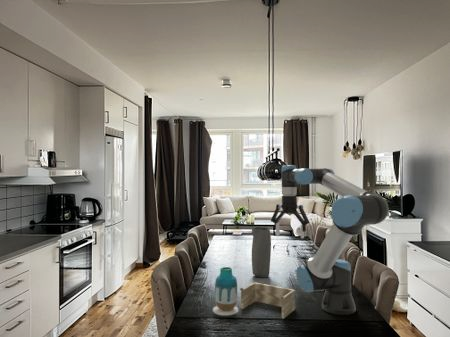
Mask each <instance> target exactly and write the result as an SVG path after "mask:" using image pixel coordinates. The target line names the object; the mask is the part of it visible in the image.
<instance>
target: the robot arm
mask: <svg viewBox="0 0 450 337" xmlns="http://www.w3.org/2000/svg"><path fill="white" fill-rule="evenodd" d="M280 177H281V203H282V204H280V203H278V204H276V206H275V210H274V212H273V215H271V216H272V217H271V219H270V221H271V222H272V223H273V224H274V226H273V227H274V230H275V236H276V237H279V236H280V234H281V232H280V220H281V219H282V217H283V216H284V215H285V214H289V215H290V214H291V215H292V214H293V215H294V216H295V217H296V218H297V220H298V221H299V222H300V224H301V225H300V239H304V238H305V232H306V230H307V225H308V224H310V223H311V222H310V220H309V218H308V215H307V214H306V212H305V210H304V205H302V204H299V205H298V204H297V203H298V201H297V200H298V197H297V195H298V194H297V191H298V190H297V185H312V184H313V185H315V184H316V185H317V184H318V185H321V186H323V187H324V188H326V189H328V190H330V191H331V192H333V193H335V194H336V195H338V196H339V197H338V198H337V199H336V200H335V201H333V203H332V206H331V213H330V215H331V220H332V226H330V227H331V228H330V229H329V231H328V232H327V235H326V236H325V238H324V240H323V241H322V243H321V244H320V247H318V249H317V251H316V253H315V254H314V256H312V257H310V258H309V259H308V260H307V261H306V263H305V264H303V265H299V266H297V269H296V272H295V273H296V275H295V276H296V280H297V283H298V285H299V287H300V288H301V289H302V291H304V292H306V293H314V292H320V291H319V290H325V291H324V295H323V296H322V301H321V309H322V310H323V311H325V312H327V313H329V314H333V315H338V316H341V315H342V316H348V315H352V314H354V313H355V312H357V311H356V310H357V308H356V303H355V300H354V297H353V295H352V270H351V267H352V266H351V263H350V262H349V261H347V260H344V259H339V258H340V256H341V254H342V253H343V252H344V250H345V248H346V247H347V245H348V244H349V242H350V241H351V239H352V238H353V236H358V235H359V234H360V233H361V231H362V230H363V228H364V227H365V226H371V225H377V224H378V225H379V224H381V223H382V222H384V221H385V220H386V218H387V217H388V215H389V212H390V211H389V210H390V209H389V204H388V202H387V200H386V199H385V197H383V196H381V195H380V194H379V193H377V192H374V191H372V190H365V189H363V188H361V187H360V186H358V185H356V184H354V183H352V182H350V181H348V180H346V179H344V178H342V177H340V176H338V175H336V174H335V172H334V170H333V169H331V168H303V167H302V168H297V165H293V164H288V165H287V164H285V165H284V164H283V165H282V166H281V176H280ZM281 209H282V210H281ZM297 209H298V210H299V211H298V210H297ZM280 210H281V211H280ZM279 212H280V214H279ZM299 212H300V213H299ZM278 214H279V215H278Z"/></svg>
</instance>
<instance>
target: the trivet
mask: <svg viewBox="0 0 450 337" xmlns="http://www.w3.org/2000/svg"><path fill="white" fill-rule="evenodd" d="M212 313H213V314H214V315H217V316H233V315H236V314H238V313H239V308H238V306H237V305H236V306H235V307H234V308H233V309H231V310H221V309H219V308H218V307H217V305H216V306H214V307H213V308H212Z"/></svg>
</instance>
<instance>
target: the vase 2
mask: <svg viewBox="0 0 450 337" xmlns="http://www.w3.org/2000/svg"><path fill="white" fill-rule="evenodd" d="M251 232H252V244H251V270H252V275H253V276H255V277H258V278H268V277H270V270H271V254H272V251H271V250H272V237H271V231H270V228H269V227H265V226H264V227H263V226H256V227H252V228H251Z"/></svg>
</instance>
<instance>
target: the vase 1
mask: <svg viewBox="0 0 450 337" xmlns="http://www.w3.org/2000/svg"><path fill="white" fill-rule="evenodd" d="M219 270H220V271H219V272H220V274H219V275H218V276H217V277H216V278H215V283H214V299H215V305H216V306H217V307H218V308H219V309H221V310H231V309H233V308H234V307H235V306H236V307H237V302H238V281H237V280H238V279H237V277H236V276H234V275H233V268H232V267H230V266H222V267H221V268H220V269H219Z"/></svg>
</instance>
